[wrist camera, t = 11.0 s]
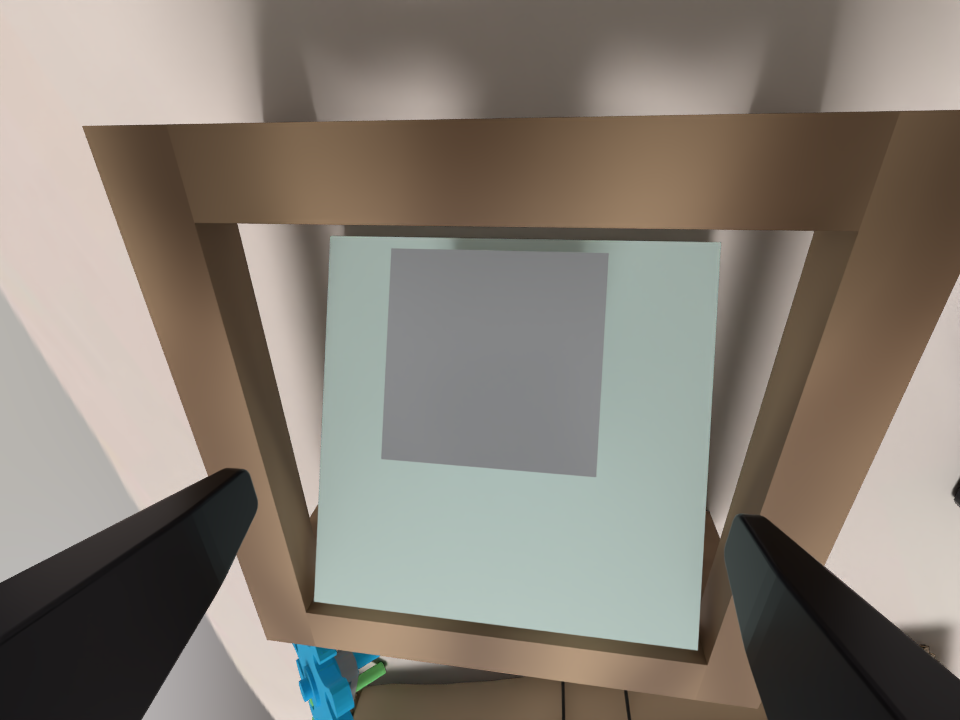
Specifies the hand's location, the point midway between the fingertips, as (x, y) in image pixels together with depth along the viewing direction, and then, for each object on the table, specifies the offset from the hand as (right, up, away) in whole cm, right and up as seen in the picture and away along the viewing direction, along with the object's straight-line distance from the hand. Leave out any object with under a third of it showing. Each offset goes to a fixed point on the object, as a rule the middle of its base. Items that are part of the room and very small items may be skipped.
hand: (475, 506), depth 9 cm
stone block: (+1, +3, +7) cm, 8 cm away
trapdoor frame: (+2, +2, +10) cm, 11 cm away
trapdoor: (+1, 0, +8) cm, 8 cm away
